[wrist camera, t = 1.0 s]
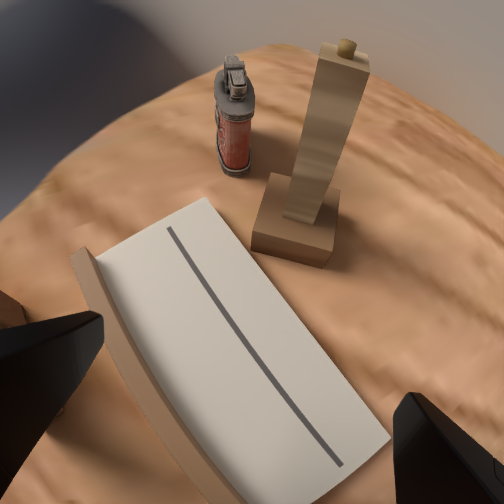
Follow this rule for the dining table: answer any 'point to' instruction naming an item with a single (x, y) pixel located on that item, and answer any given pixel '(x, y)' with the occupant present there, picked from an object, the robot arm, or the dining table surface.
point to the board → (225, 364)
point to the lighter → (233, 117)
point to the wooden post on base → (314, 164)
